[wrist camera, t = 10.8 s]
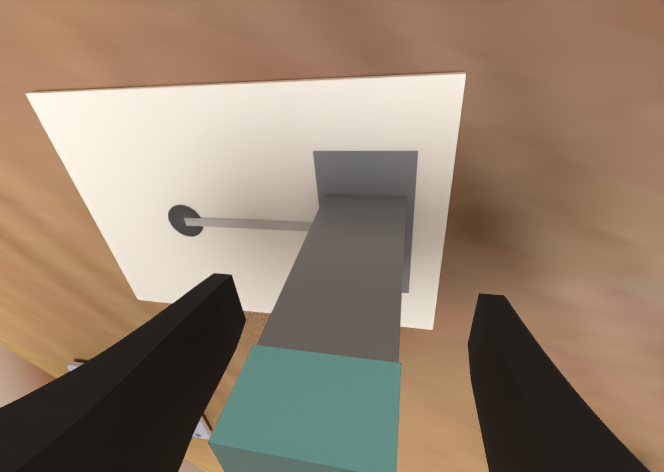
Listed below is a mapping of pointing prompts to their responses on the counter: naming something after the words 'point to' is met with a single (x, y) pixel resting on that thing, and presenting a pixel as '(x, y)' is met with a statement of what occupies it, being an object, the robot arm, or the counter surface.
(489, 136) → the counter surface
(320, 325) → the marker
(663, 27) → the counter surface
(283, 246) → the paper sheet
